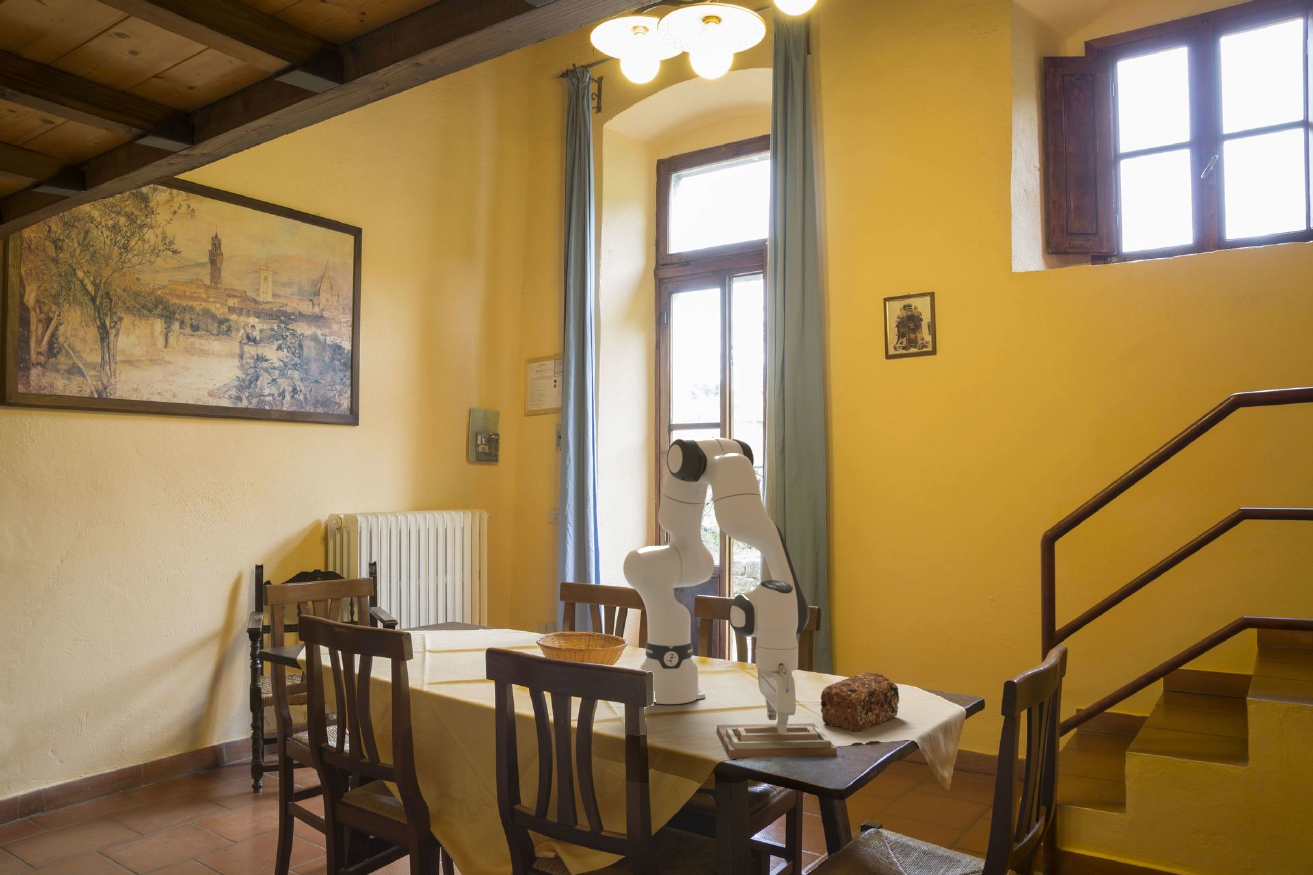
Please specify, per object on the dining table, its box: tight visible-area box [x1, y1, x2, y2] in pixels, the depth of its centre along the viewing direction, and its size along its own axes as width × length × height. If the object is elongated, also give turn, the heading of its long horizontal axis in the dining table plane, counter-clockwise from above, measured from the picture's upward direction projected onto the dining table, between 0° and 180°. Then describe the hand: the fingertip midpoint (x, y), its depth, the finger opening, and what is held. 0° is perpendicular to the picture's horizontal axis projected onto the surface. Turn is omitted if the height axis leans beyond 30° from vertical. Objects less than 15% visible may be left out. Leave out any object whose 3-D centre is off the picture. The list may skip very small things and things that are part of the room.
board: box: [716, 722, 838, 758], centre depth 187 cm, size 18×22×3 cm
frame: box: [737, 726, 818, 742], centre depth 184 cm, size 6×16×2 cm, turn 94°
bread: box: [820, 672, 900, 733], centre depth 205 cm, size 19×11×10 cm, turn 134°
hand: (776, 725), depth 184 cm, fingers open, 8 cm apart
